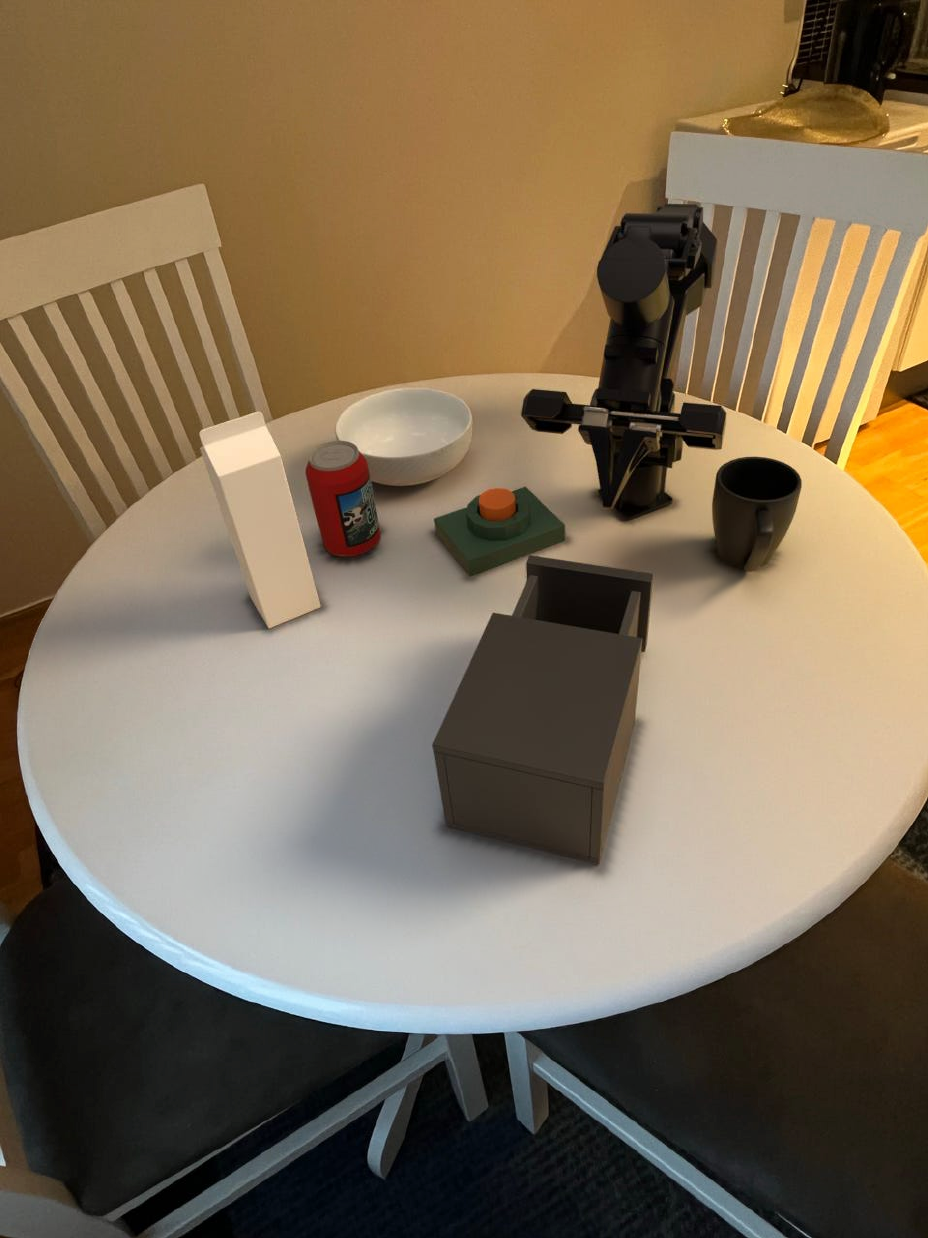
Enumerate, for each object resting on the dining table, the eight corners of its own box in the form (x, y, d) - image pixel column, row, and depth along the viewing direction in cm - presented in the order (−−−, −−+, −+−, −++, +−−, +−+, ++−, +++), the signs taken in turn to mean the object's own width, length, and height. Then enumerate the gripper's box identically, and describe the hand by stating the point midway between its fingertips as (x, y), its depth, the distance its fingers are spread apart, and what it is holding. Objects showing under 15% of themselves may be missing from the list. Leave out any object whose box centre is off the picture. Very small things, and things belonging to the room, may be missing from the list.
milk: (321, 608, 89) (274, 424, 73) (267, 630, 87) (208, 446, 72) (300, 577, 93) (252, 397, 77) (249, 597, 91) (188, 417, 76)
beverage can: (372, 563, 93) (354, 472, 85) (315, 559, 95) (292, 469, 86) (388, 527, 98) (372, 438, 90) (334, 524, 99) (313, 435, 91)
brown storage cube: (499, 696, 77) (492, 612, 70) (634, 723, 74) (642, 637, 66) (445, 826, 67) (431, 744, 60) (599, 865, 64) (604, 783, 57)
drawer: (542, 597, 85) (541, 528, 80) (654, 615, 82) (661, 545, 76) (490, 725, 74) (484, 656, 68) (618, 753, 70) (624, 682, 64)
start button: (505, 496, 94) (504, 483, 93) (522, 514, 92) (521, 501, 90) (473, 508, 93) (472, 495, 92) (490, 526, 91) (489, 513, 89)
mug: (706, 599, 85) (718, 523, 78) (704, 527, 93) (714, 454, 87) (791, 604, 83) (811, 527, 77) (781, 531, 92) (797, 457, 85)
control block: (526, 501, 100) (525, 473, 97) (565, 540, 94) (565, 511, 91) (435, 533, 96) (431, 505, 94) (469, 576, 90) (467, 547, 88)
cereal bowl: (354, 517, 100) (343, 467, 95) (337, 448, 112) (327, 400, 107) (490, 489, 102) (486, 439, 97) (459, 424, 114) (454, 376, 109)
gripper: (735, 382, 84) (708, 533, 84) (555, 367, 90) (530, 510, 90) (738, 341, 74) (707, 515, 74) (534, 328, 79) (506, 489, 79)
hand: (607, 508), depth 79 cm, fingers closed
